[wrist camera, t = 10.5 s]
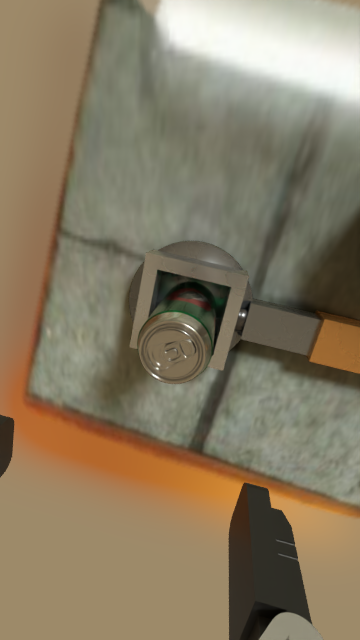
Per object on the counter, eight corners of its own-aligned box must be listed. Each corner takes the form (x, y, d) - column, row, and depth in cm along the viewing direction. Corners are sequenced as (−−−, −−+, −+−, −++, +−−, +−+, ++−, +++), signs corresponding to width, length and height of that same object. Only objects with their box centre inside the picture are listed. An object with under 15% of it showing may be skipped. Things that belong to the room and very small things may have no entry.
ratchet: (439, 296, 31) (473, 308, 27) (386, 407, 35) (409, 434, 30) (144, 228, 33) (131, 229, 28) (124, 341, 36) (110, 357, 32)
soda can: (156, 291, 33) (119, 331, 21) (205, 272, 31) (193, 303, 20) (176, 337, 34) (152, 399, 22) (224, 320, 33) (224, 376, 21)
